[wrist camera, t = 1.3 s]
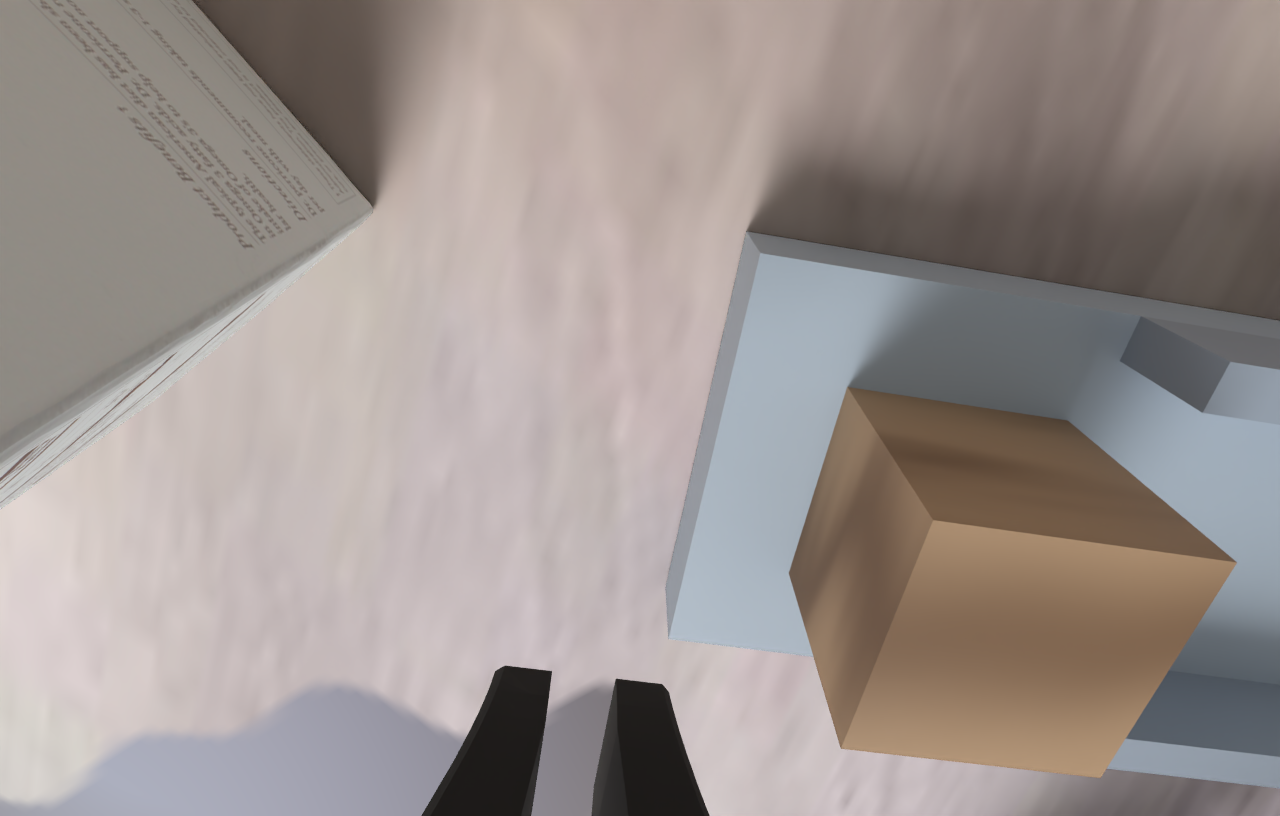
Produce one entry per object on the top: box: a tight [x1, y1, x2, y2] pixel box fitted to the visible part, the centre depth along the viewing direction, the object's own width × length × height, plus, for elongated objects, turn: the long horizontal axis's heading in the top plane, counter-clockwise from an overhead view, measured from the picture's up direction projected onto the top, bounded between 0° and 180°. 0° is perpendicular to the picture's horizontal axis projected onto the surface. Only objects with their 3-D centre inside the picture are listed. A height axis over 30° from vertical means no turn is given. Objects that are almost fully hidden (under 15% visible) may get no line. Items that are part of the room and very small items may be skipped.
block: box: [789, 387, 1237, 778], centre depth 15 cm, size 5×5×5 cm
